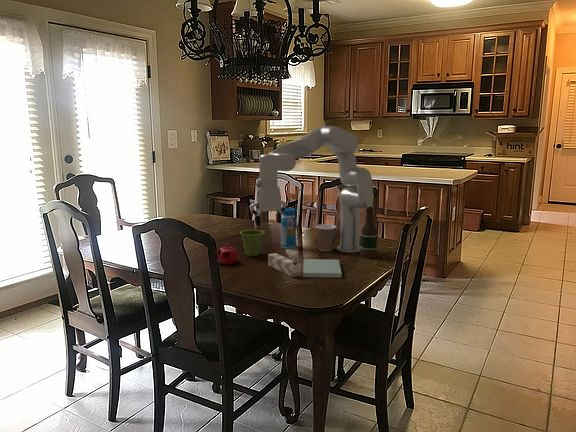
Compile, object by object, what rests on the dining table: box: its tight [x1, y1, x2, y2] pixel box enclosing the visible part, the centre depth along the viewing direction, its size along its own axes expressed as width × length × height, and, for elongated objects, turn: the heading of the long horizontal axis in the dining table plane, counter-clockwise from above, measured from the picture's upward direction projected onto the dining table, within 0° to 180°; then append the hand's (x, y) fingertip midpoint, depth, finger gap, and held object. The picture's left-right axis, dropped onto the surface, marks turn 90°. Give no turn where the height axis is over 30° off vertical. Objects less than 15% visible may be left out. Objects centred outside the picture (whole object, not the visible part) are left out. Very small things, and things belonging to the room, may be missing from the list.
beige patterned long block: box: [267, 252, 302, 278], centre depth 206 cm, size 20×4×6 cm, turn 33°
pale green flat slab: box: [302, 258, 343, 279], centre depth 207 cm, size 20×16×2 cm
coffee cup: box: [315, 223, 337, 252], centre depth 240 cm, size 10×10×12 cm
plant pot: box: [239, 229, 265, 257], centre depth 230 cm, size 12×12×11 cm
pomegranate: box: [216, 243, 239, 266], centre depth 217 cm, size 10×10×9 cm
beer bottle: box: [359, 206, 378, 260], centre depth 226 cm, size 8×8×24 cm
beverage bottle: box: [280, 207, 298, 250], centre depth 243 cm, size 8×8×20 cm
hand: (268, 223), depth 202 cm, fingers open, 9 cm apart
